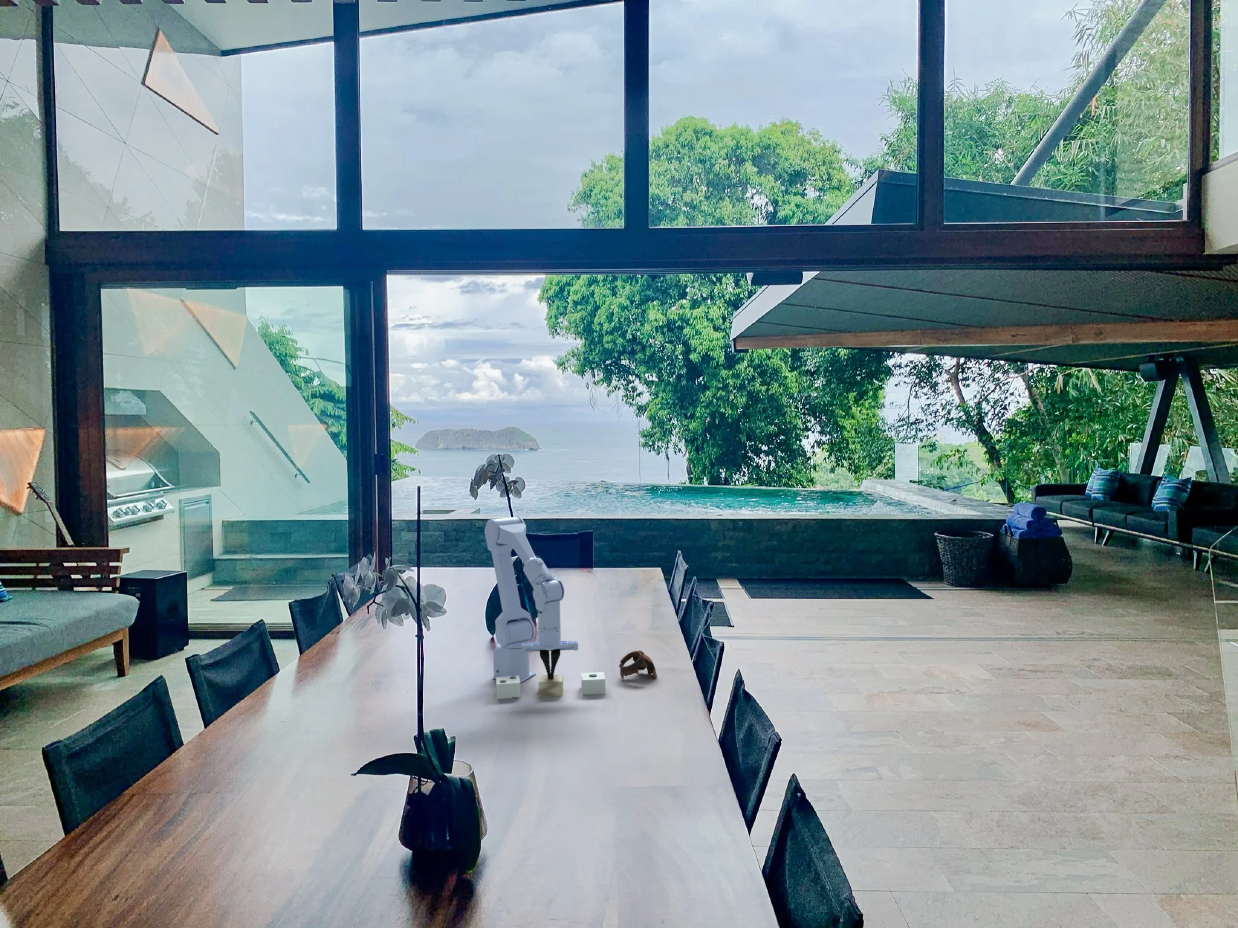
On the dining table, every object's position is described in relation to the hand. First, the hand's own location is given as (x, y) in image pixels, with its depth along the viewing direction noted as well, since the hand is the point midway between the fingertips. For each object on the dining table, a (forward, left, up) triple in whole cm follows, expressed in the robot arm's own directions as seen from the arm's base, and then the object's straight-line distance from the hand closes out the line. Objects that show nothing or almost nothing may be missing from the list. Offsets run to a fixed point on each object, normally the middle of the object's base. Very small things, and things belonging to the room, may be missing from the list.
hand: (550, 678), depth 221 cm
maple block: (0, 0, -4) cm, 4 cm away
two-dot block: (-10, -5, -4) cm, 12 cm away
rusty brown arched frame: (+17, +20, -4) cm, 26 cm away
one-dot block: (+10, +5, -4) cm, 12 cm away
